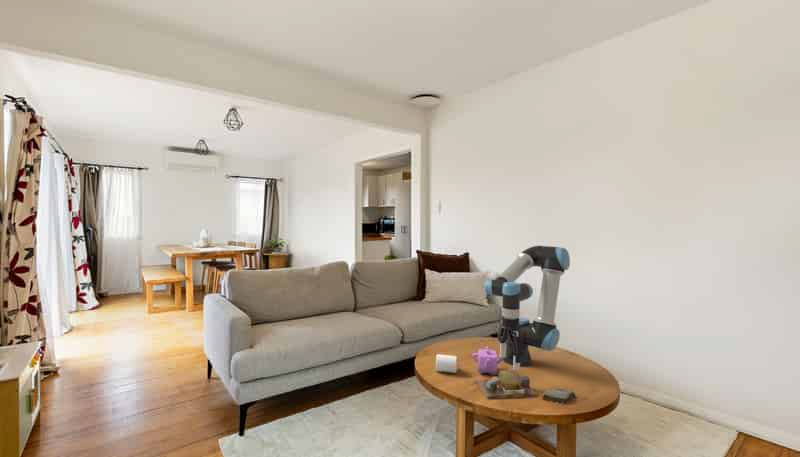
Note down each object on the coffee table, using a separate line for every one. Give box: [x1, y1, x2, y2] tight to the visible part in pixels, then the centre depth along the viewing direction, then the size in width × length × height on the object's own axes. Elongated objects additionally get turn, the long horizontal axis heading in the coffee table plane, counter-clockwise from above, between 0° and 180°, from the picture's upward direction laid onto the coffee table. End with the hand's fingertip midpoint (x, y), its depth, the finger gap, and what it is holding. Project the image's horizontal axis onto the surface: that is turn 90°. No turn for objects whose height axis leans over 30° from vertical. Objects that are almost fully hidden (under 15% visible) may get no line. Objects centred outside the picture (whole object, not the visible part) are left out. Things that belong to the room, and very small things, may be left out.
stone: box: [541, 387, 577, 405], centre depth 159 cm, size 15×8×3 cm, turn 127°
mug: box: [435, 353, 458, 374], centre depth 185 cm, size 12×10×8 cm
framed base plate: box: [474, 376, 538, 400], centre depth 165 cm, size 23×15×3 cm, turn 99°
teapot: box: [471, 345, 503, 376], centre depth 184 cm, size 15×13×11 cm
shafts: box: [486, 375, 531, 392], centre depth 164 cm, size 22×6×4 cm, turn 99°
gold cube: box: [498, 370, 519, 390], centre depth 165 cm, size 6×6×6 cm
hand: (509, 363), depth 166 cm, fingers open, 13 cm apart
